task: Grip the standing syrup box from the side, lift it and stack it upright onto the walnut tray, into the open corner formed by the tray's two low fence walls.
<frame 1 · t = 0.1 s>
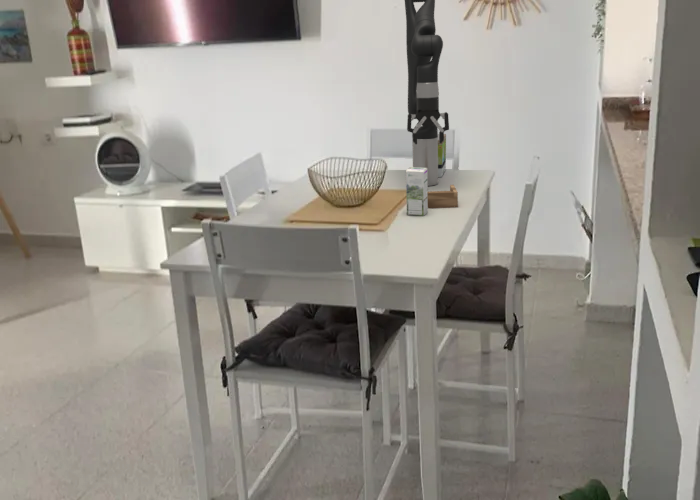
hand: (428, 143, 258), 17 cm above the table, tool pointing down, fingers open, 8 cm apart
tea box: (431, 174, 294), on the table
syrup box: (417, 214, 237), on the table
walnut tray: (439, 203, 247), on the table
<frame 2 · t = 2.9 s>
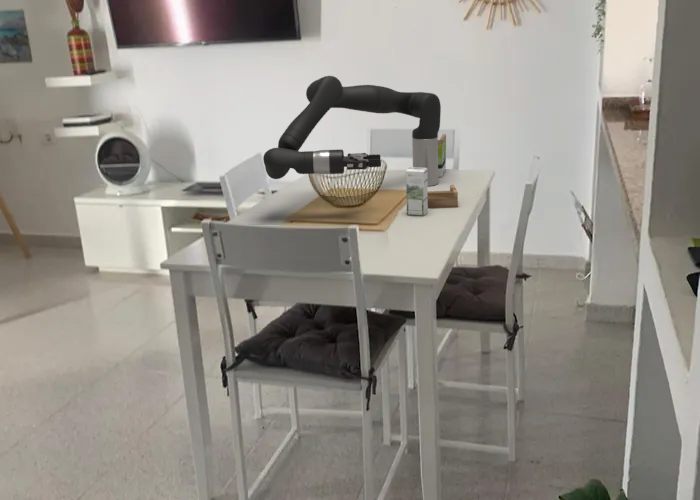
hand: (380, 160, 232), 17 cm above the table, tool horizontal, fingers open, 8 cm apart
nothing on the table moved.
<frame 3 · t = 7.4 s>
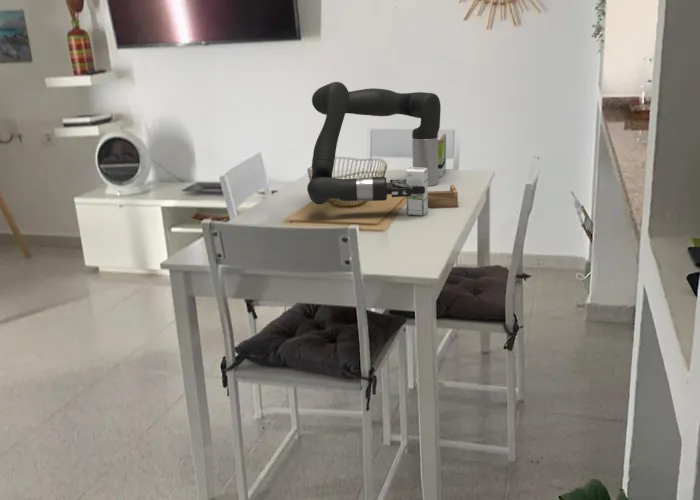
hand: (423, 187, 234), 9 cm above the table, tool horizontal, fingers closed on syrup box, 7 cm apart
syrup box: (417, 214, 237), on the table, touching gripper
everything else where it was.
when the fingers open (13 cm above the table, at t = 12.2 s): syrup box drops 1 cm, resting on walnut tray.
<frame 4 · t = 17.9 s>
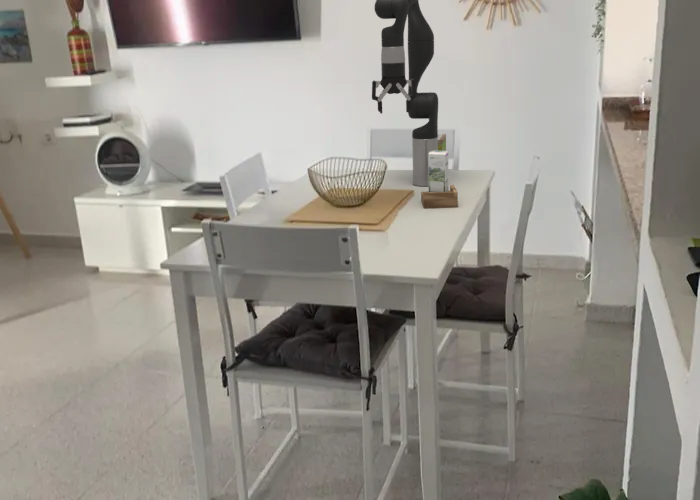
hand: (394, 112, 242), 30 cm above the table, tool pointing down, fingers open, 8 cm apart
syrup box: (438, 195, 246), point 3 cm above the table, touching walnut tray
everything else where it was.
at the end: syrup box 0.3 cm off-centre on the walnut tray, point 2.8 cm above the walnut tray's base; syrup box tilted 0°; the gripper is holding nothing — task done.
